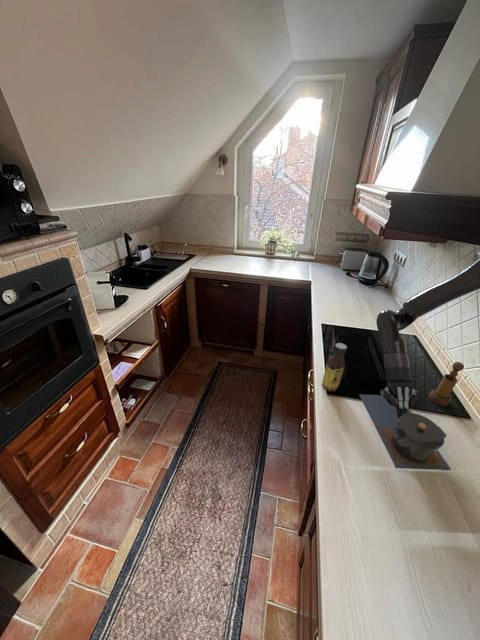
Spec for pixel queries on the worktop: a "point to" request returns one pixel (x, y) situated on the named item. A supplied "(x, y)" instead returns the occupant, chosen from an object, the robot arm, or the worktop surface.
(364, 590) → the worktop surface
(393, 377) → the robot arm
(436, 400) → the wooden pepper mill
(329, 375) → the sauce bottle
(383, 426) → the mat
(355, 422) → the worktop surface
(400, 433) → the pot
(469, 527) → the worktop surface
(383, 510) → the worktop surface
